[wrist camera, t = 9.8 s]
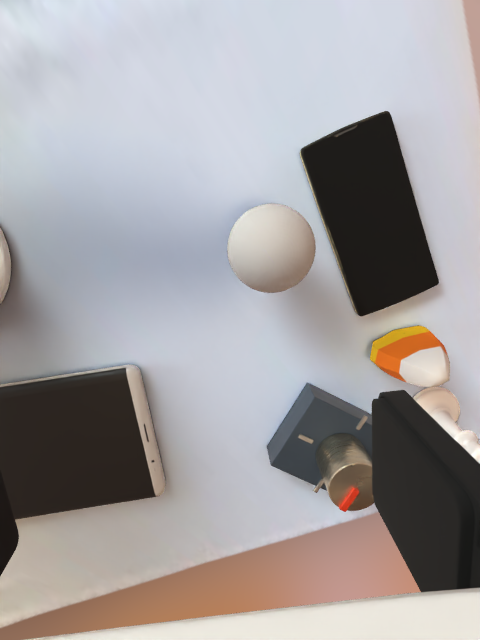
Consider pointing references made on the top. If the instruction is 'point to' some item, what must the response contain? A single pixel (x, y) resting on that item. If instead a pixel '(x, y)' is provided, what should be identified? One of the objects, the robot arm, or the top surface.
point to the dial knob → (346, 471)
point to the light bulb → (271, 248)
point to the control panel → (315, 432)
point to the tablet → (78, 442)
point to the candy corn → (412, 356)
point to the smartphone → (370, 213)
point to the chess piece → (448, 417)
